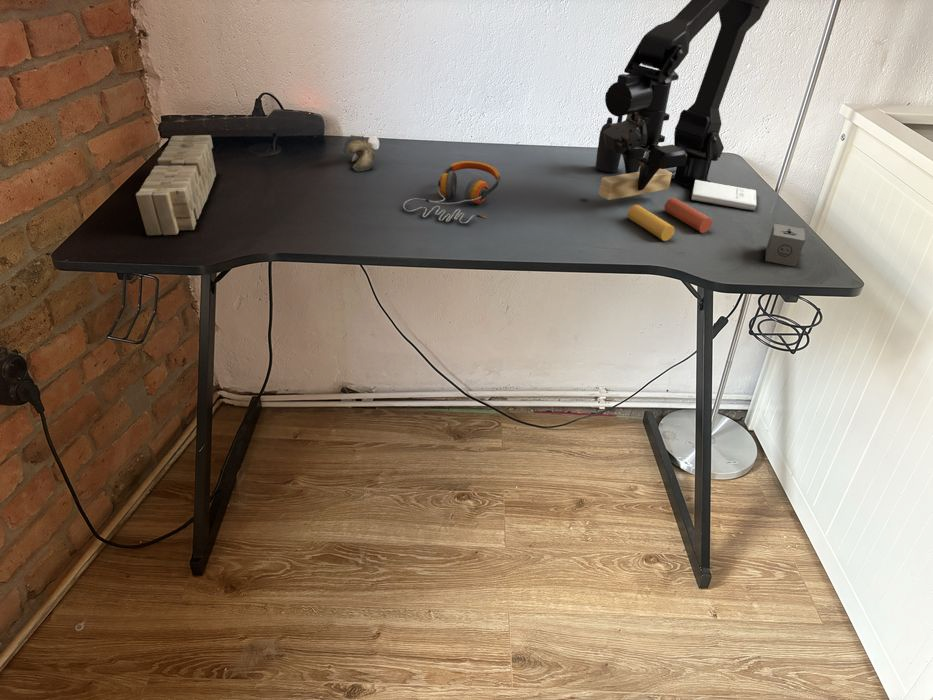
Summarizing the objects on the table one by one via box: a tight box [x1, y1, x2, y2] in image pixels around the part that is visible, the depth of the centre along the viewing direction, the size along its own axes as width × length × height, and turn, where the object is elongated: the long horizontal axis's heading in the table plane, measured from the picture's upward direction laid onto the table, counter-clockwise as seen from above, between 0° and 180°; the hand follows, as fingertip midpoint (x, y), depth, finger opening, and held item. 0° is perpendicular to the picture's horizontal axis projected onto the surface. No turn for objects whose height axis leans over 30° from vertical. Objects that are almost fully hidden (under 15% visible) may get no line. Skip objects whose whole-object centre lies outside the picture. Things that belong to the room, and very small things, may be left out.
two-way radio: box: [595, 115, 624, 174], centre depth 148 cm, size 6×4×15 cm
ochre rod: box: [627, 204, 675, 242], centre depth 128 cm, size 3×10×3 cm, turn 26°
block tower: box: [135, 134, 217, 236], centre depth 128 cm, size 8×8×29 cm
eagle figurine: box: [341, 134, 380, 172], centre depth 149 cm, size 8×7×9 cm
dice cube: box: [764, 223, 806, 267], centre depth 120 cm, size 5×5×5 cm
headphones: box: [402, 160, 501, 224], centre depth 134 cm, size 17×5×20 cm
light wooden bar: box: [598, 169, 673, 201], centre depth 135 cm, size 15×3×4 cm, turn 116°
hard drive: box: [690, 180, 757, 211], centre depth 141 cm, size 2×8×12 cm
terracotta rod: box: [664, 197, 713, 234], centre depth 131 cm, size 3×10×3 cm, turn 26°
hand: (635, 187), depth 136 cm, fingers closed on light wooden bar, 3 cm apart
